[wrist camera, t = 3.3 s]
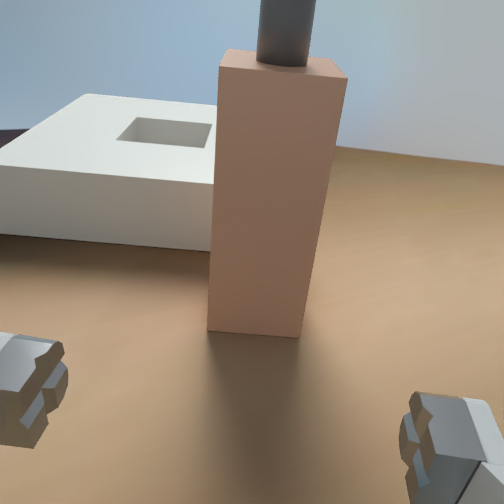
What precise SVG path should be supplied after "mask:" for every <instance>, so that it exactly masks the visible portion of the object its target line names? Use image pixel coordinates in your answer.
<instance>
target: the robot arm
mask: <svg viewBox="0 0 504 504" xmlns="http://www.w3.org/2000/svg"><path fill="white" fill-rule="evenodd" d="M64 354H65V352H64V348H63V344H62V343H61V342H59V341H55V340H49V339H43V338H37V337H31V336H25V335H19V334H18V335H16V334H10V333H4V332H0V445H7V446H15V447H23V448H32V449H34V447H35V445H36V444H37V442H38V440H39V439H40V437H41V435H42V434H43V432H44V430H45V429H46V427H47V425H48V424H49V423H48V418H47V414H48V413H50V412H52V411H53V410H55V409H56V408H58V407H59V405H60V403H61V401H62V400H63V398H64V395H65V392H66V389H67V386H68V369H67V367H66V366H65V365H64V364H63V363H62V361H61V359H62V357H63V355H64ZM409 406H410V411H411V412H409V413H407V414H406V415H404V416H403V419H402V422H401V425H400V431H399V449H400V454H401V459H402V460H403V461H404V462H405V463H406V465H407V466H408V467H409V469H408V471H407V473H406V476H405V480H406V485H407V490H408V495H409V500H410V504H504V439H503V436H502V434H501V432H500V430H499V427H498V425H497V423H496V420H495V418H494V416H493V414H492V411H491V409H490V407H489V405H488V403H487V402H486V401H485V400H479V399H471V398H463V397H456V396H448V395H441V394H433V393H426V392H418V391H415V392H414V393H413V394H412V396H411V398H410V400H409Z"/></svg>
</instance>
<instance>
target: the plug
mask: <svg viewBox="0 0 504 504" xmlns="http://www.w3.org/2000/svg"><path fill="white" fill-rule="evenodd" d="M315 4H316V0H261V5H260V18H259V29H258V40H257V52H255V51H245V50H235V49H227V51H226V53H225V55H224V57H223V59H222V61H221V63H220V65H219V78H218V100H217V120H216V142H215V164H214V185H213V207H212V229H211V251H210V272H209V294H208V316H207V331H218V332H231V333H243V334H256V335H268V336H280V337H293V338H300V332H301V327H302V321H303V316H304V311H305V305H306V300H307V295H308V289H309V284H310V279H311V273H312V268H313V263H314V257H315V252H316V247H317V241H318V236H319V230H320V225H321V220H322V214H323V209H324V204H325V198H326V193H327V188H328V182H329V177H330V172H331V166H332V161H333V156H334V150H335V145H336V139H337V133H338V128H339V123H340V118H341V113H342V107H343V102H344V96H345V91H346V86H347V81H348V78H347V77H346V76H345V74H344V73H343V72H342V71H341V70H340V69H339V68H338V66H337V65H336V64H335V63H334V62H333V60H332V59H327V58H317V57H308V54H309V47H310V40H311V33H312V25H313V18H314V11H315Z"/></svg>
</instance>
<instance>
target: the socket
mask: <svg viewBox="0 0 504 504" xmlns="http://www.w3.org/2000/svg"><path fill="white" fill-rule="evenodd" d="M216 120H217V106H214V105H203V104H193V103H183V102H172V101H161V100H151V99H140V98H129V97H119V96H108V95H98V94H87V93H86V94H84V95H83V96H81V97H79V98H78V99H77V100H75V101H73V102H72V103H70V104H69V105H67V106H66V107H64V108H62V109H61V110H59V111H58V112H56V113H55V114H53V115H52V116H50V117H49V118H47V119H46V120H44V121H42V122H41V123H39V124H38V125H36V126H35V127H33V128H31V129H30V130H28V131H27V132H25V133H24V134H22V135H21V136H19V137H18V138H16V139H14V140H13V141H11V142H10V143H8V144H7V145H5V146H4V147H2V148H1V149H0V234H10V235H22V236H33V237H45V238H57V239H69V240H80V241H92V242H104V243H116V244H127V245H139V246H151V247H162V248H174V249H186V250H198V251H209V252H210V251H211V229H212V207H213V185H214V164H215V142H216Z"/></svg>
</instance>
